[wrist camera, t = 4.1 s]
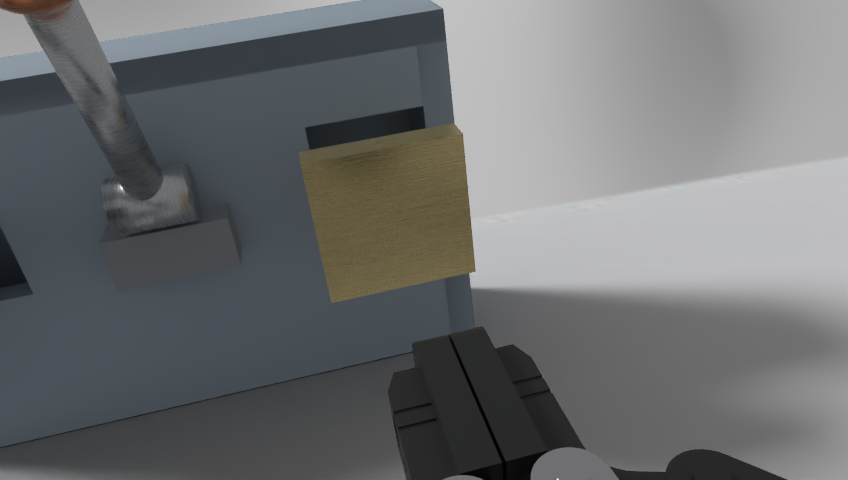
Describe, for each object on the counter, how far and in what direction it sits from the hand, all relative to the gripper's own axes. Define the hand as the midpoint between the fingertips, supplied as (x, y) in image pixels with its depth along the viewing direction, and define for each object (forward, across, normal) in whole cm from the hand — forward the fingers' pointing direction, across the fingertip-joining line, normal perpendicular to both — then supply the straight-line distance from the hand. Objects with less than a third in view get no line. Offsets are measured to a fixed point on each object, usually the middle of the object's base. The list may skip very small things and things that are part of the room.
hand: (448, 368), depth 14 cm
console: (+13, +7, +8) cm, 16 cm away
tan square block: (+9, 0, +2) cm, 9 cm away
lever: (+10, +7, -1) cm, 12 cm away
